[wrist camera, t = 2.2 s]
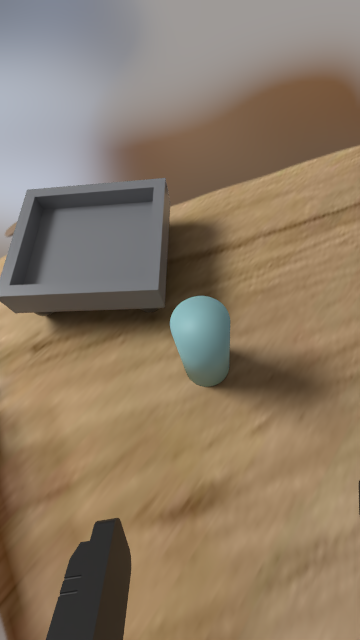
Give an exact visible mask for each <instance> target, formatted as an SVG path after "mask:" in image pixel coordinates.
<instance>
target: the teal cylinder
mask: <svg viewBox="0 0 360 640" xmlns="http://www.w3.org/2000/svg"><path fill="white" fill-rule="evenodd" d="M170 329H171V333H172V335H173V338H174V341H175V343H176V346H177V349H178V352H179V354H180V357H181V360H182V362H183V365H184V368H185V370H186V373H187V375H188V377H189V378H190V379H191V381H193V382H194V383H195V384H197V385H200V386H204V387H210V386H214V385H217V384H219V383H220V382H222V381H223V380H224V379H225V377H226V376H227V374H228V371H229V358H230V316H229V313H228V311H227V309H226V308H225V306H224V305H223V304H222V303H221V302H219V301H218V300H216V299H214V298H211V297H208V296H195V297H191V298H188V299H186V300H184V301H183V302H181V303H180V304H179V305H178V306H177V307H176V308H175V309H174V311H173V313H172V315H171V319H170Z"/></svg>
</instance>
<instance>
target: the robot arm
mask: <svg viewBox="0 0 360 640" xmlns="http://www.w3.org/2000/svg"><path fill="white" fill-rule="evenodd" d="M359 513H360V481H359ZM130 575H131V555H130V549H129V546H128V543H127V540H126V537H125V534H124V531H123V527H122V524H121V521H120V519H119V518H114V519H108V520H101V521H97V522H96V523H95V524H94V527H93V531H92V535H91V539H90V541H86V542H81V543H80V544H79V546H78V547H77V549H76V550H75V552H74V553H73V555H72V556H71V558H70V560H69V564H68V567H67V570H66V574H65V577H64V578H65V580H64V581H63V584H62V587H61V591H60V597H58V601H57V604H56V607H55V611H54V614H53V617H52V621H51V624H50V628H49V631H48V634H47V638H46V640H123V635H124V626H125V618H126V609H127V601H128V592H129V584H130Z"/></svg>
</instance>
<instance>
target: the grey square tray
mask: <svg viewBox="0 0 360 640" xmlns="http://www.w3.org/2000/svg"><path fill="white" fill-rule="evenodd" d="M169 217H170V198H169V194H168V189H167V184H166V180H165V178H161V179H150V180H138V181H127V182H114V183H102V184H90V185H78V186H68V187H56V188H44V189H32V190H27V192H26V195H25V199H24V202H23V205H22V208H21V212H20V215H19V218H18V221H17V225H16V228H15V231H14V235H13V238H12V241H11V244H10V248H9V251H8V254H7V257H6V261H5V264H4V267H3V271H2V274H1V277H0V301H1V302H2V303H3V304H4V305H6V306H7V307H8V308H9V309H11V310H12V311H13V312H14V313H31V312H34V313H35V314H37V315H40V316H48V315H50V314H52V313H53V312H59V311H87V310H115V309H141V310H142V311H145V312H154V311H157V310H158V309H159V308H165V293H166V274H167V255H168V236H169Z"/></svg>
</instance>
